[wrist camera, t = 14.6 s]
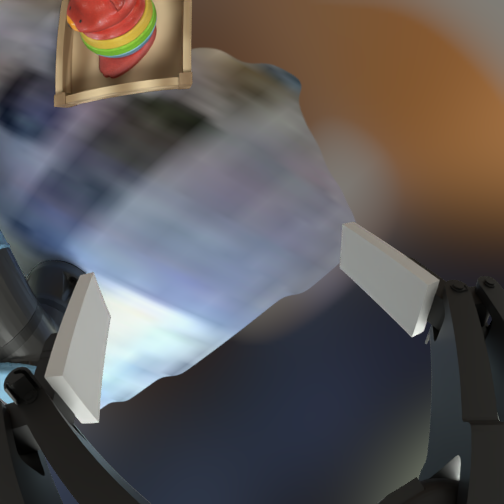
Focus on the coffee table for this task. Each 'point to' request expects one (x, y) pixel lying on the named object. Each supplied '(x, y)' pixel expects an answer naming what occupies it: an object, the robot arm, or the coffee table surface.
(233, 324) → the coffee table surface
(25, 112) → the coffee table surface
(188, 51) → the crate
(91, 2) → the stacking bear
